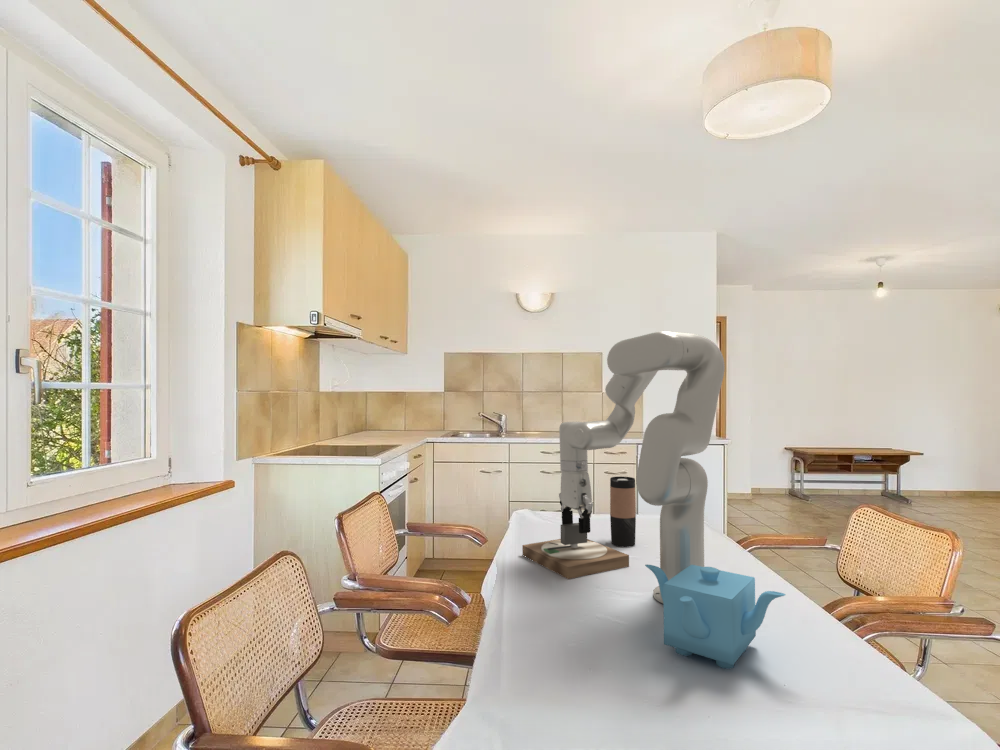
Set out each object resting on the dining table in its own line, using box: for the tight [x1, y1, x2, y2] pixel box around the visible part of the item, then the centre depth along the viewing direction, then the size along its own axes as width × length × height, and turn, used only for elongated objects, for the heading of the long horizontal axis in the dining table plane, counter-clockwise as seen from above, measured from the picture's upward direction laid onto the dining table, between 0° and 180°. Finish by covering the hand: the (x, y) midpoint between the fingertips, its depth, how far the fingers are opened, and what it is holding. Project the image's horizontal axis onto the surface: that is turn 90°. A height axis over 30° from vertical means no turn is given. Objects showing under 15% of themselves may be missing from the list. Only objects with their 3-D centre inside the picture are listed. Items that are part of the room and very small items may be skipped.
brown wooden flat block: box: [522, 538, 630, 580], centre depth 150 cm, size 22×20×4 cm
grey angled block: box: [547, 522, 588, 550], centre depth 149 cm, size 12×2×6 cm, turn 111°
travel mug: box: [609, 475, 637, 548], centre depth 167 cm, size 8×8×20 cm
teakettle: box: [644, 564, 786, 670], centre depth 99 cm, size 19×19×15 cm
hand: (575, 528), depth 150 cm, fingers open, 9 cm apart
